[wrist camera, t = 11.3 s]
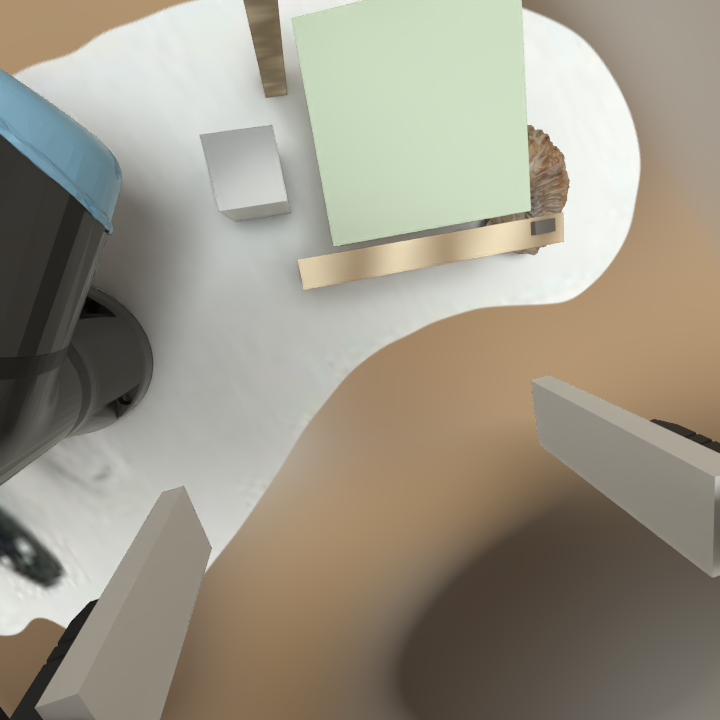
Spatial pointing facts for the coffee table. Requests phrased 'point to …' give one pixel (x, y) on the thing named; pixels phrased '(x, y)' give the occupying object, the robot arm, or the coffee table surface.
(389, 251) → the frame
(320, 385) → the coffee table surface
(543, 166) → the seashell
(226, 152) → the grey rectangular block
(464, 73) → the trapdoor
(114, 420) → the robot arm
